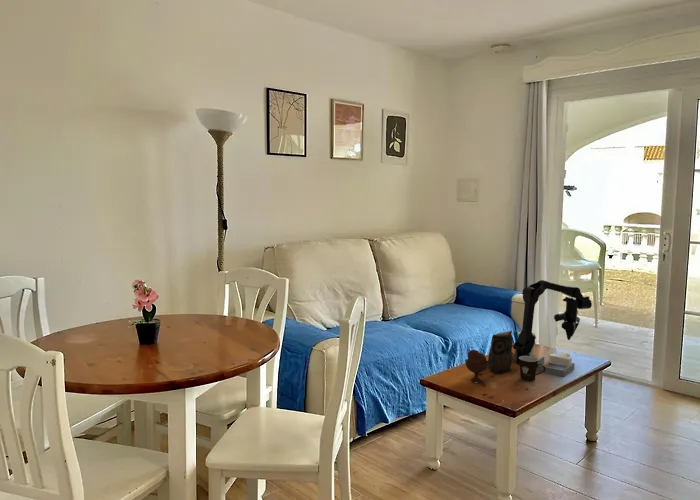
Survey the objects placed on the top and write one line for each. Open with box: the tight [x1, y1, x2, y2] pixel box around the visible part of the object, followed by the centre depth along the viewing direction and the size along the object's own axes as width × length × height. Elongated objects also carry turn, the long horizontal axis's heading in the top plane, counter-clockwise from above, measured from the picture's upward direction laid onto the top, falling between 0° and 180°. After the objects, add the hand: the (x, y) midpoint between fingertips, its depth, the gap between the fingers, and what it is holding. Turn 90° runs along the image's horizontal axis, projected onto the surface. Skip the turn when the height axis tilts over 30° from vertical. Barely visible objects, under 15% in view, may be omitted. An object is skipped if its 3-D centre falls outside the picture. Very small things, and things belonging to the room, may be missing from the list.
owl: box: [487, 330, 514, 375], centre depth 254 cm, size 13×13×20 cm
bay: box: [536, 356, 576, 378], centre depth 257 cm, size 15×16×3 cm
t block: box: [548, 351, 573, 367], centre depth 268 cm, size 10×10×4 cm
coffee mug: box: [518, 356, 546, 382], centre depth 242 cm, size 12×9×10 cm
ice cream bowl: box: [464, 349, 489, 383], centre depth 240 cm, size 11×11×15 cm
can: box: [517, 331, 536, 357], centre depth 281 cm, size 9×9×12 cm
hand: (570, 338), depth 274 cm, fingers open, 8 cm apart
